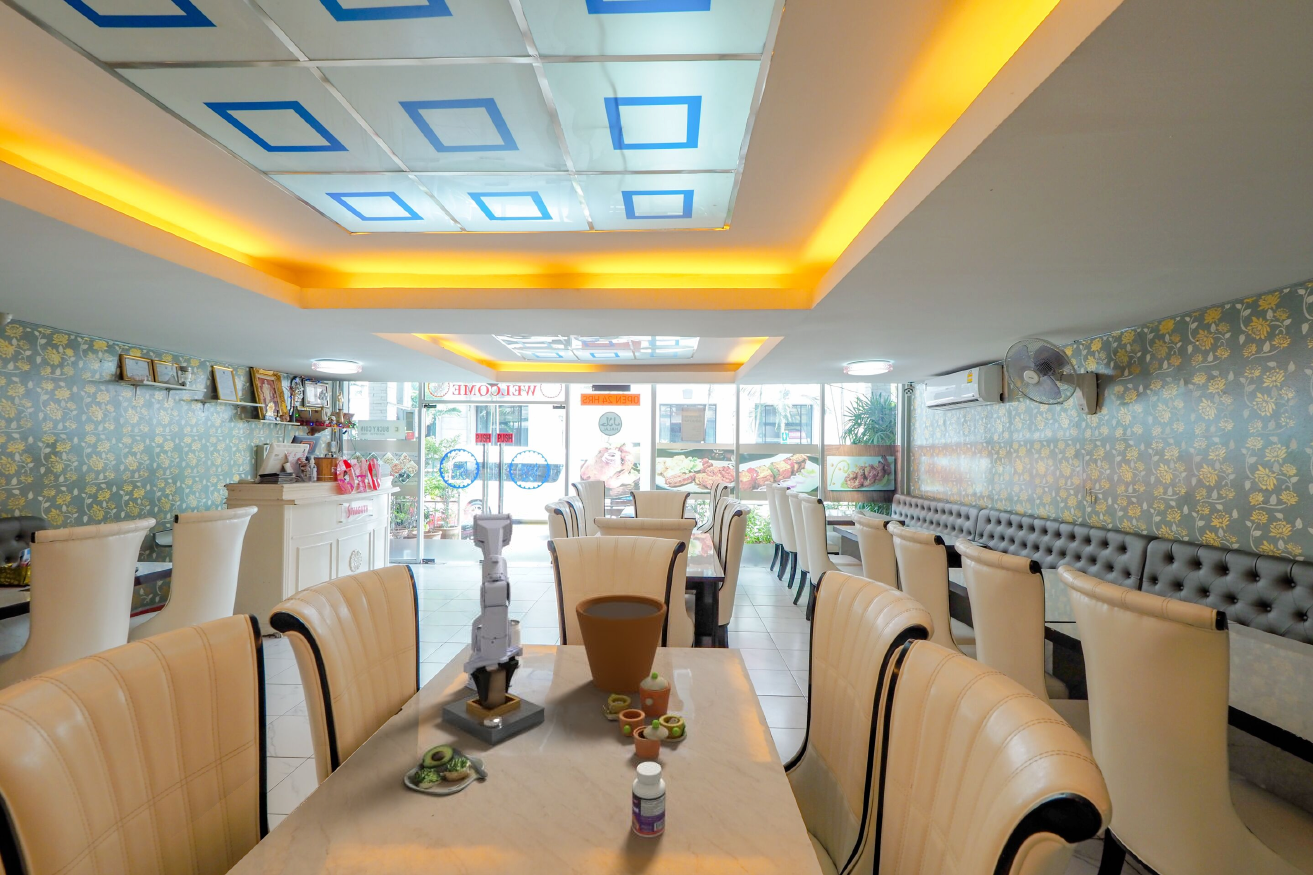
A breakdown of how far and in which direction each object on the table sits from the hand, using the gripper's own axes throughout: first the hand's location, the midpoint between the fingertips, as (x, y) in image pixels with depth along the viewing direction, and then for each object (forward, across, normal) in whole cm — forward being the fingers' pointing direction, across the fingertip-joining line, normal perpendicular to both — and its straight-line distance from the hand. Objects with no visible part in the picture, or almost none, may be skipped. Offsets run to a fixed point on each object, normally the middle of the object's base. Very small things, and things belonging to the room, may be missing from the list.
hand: (493, 696), depth 130 cm
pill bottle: (+6, -7, -50) cm, 51 cm away
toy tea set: (+6, +19, -29) cm, 35 cm away
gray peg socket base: (+6, 0, 0) cm, 6 cm away
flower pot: (+6, +34, -8) cm, 35 cm away
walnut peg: (+2, 0, 0) cm, 2 cm away
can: (+6, +23, +24) cm, 34 cm away
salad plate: (+6, -18, -12) cm, 22 cm away
